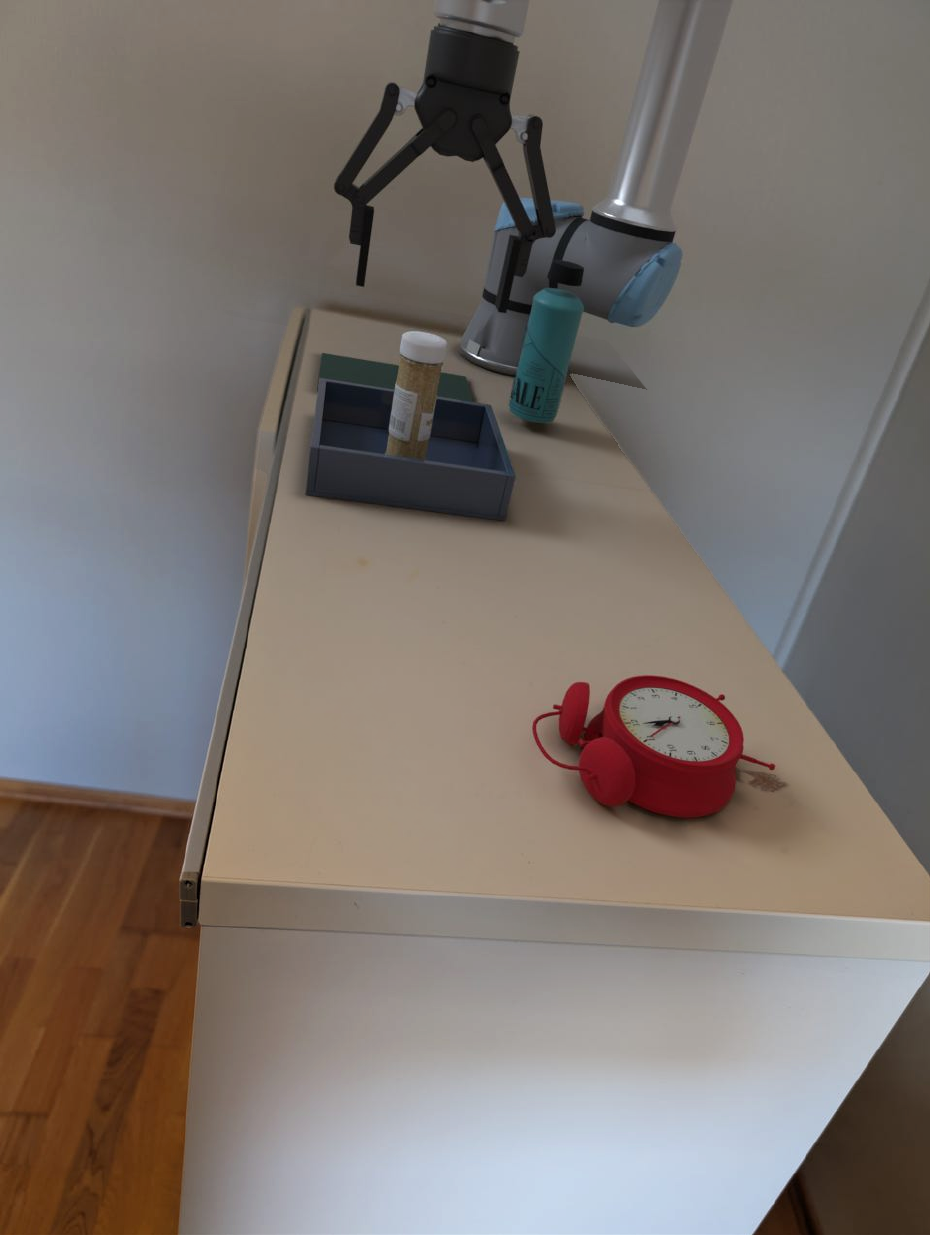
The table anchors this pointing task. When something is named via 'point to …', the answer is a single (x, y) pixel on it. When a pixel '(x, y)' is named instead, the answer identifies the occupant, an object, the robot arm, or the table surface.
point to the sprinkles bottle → (415, 394)
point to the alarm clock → (654, 745)
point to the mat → (385, 375)
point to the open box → (445, 482)
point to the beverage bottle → (547, 346)
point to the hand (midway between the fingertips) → (431, 296)
